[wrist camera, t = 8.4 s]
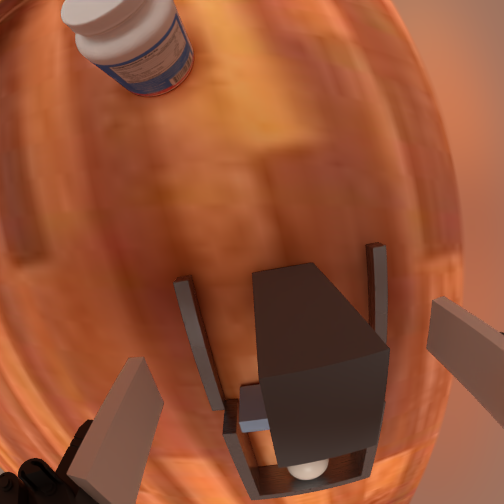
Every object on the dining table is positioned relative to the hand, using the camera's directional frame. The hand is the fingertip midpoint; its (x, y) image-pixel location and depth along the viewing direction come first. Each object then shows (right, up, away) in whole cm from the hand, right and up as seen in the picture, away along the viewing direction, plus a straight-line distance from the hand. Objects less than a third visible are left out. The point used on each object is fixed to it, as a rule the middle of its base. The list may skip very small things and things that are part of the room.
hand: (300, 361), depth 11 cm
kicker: (+1, -1, +8) cm, 8 cm away
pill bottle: (-9, +18, +5) cm, 20 cm away
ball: (+3, -15, +9) cm, 18 cm away
